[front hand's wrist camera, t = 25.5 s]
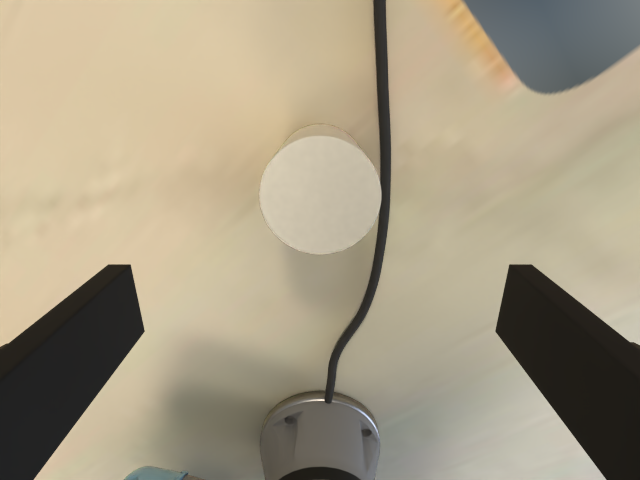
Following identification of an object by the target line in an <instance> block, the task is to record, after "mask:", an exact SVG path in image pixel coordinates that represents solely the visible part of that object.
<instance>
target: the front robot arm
mask: <svg viewBox="0 0 640 480" xmlns="http://www.w3.org/2000/svg"><path fill="white" fill-rule="evenodd" d="M374 21H375V43H376V64H377V89H378V108H379V125H380V149H381V183H380V184H381V205H380V213H379V225H378V234H377V241H376V248H375V255H374V261H373V267H372V272H371V277H370V281H369V285H368V288H367V291H366V294H365V297H364V300H363V302H362V305H361V307H360V309H359V311H358V313H357V315H356V316H355V318H354V320H353V321H352V323H351V324H350V325H349V327H348V328H347V329H346V331H345V332H344V334H343V335H342V336H341V338H340V340H339V341H338V343H337V345H336V346H335V349H334V351H333V353H332V355H331V358H330V362H329V367H328V378H327V385H326V392H324V391H315V392H307V393H302V394H298V395H295V396H292V397H290V398H288V399H286V400H284V401H282V402H281V403H279V404H278V405H277V406H276V407H274V408H273V409H272V410H271V412H270V413H269V414H268V416H267V417H266V419H265V421H264V424H263V427H262V433H261V439H260V452H261V458H262V464H263V470H264V475H265V480H375V475H376V469H377V464H378V458H379V452H380V439H379V433H378V428H377V424H376V421H375V419H374V417H373V416H372V414H371V413H370V412H369V411H368V409H367V408H365V407H364V406H363V405H362V404H361V403H359V402H358V401H356V400H354V399H352V398H350V397H348V396H345V395H342V394H338V393H333V392H334V385H335V378H336V367H337V362H338V359H339V357H340V354H341V352H342V350H343V349H344V347H345V345H346V344H347V342H348V341H349V339H350V338H351V337H352V335H353V334H354V333H355V331H356V330H357V329H358V327H359V326H360V324H361V323H362V321H363V319H364V318H365V316H366V314H367V312H368V310H369V307H370V305H371V303H372V300H373V297H374V294H375V291H376V288H377V285H378V281H379V277H380V273H381V268H382V262H383V256H384V250H385V244H386V237H387V229H388V220H389V208H390V180H391V136H390V113H389V91H388V59H387V32H386V0H374ZM143 333H144V326H143V322H142V317H141V312H140V307H139V303H138V298H137V293H136V288H135V283H134V279H133V274H132V269H131V265H107V266H106V267H105V268H104V269H102V270H101V271H100V272H98V273H97V274H96V275H95V276H93V277H92V278H91V279H90V280H88V281H87V282H86V283H85V284H83V285H82V286H81V287H79V288H78V289H77V290H76V291H74V292H73V293H72V294H71V295H69V296H68V297H67V298H66V299H64V300H63V301H62V302H60V303H59V304H58V305H57V306H55V307H54V308H53V309H52V310H50V311H49V312H48V313H47V314H45V315H44V316H43V317H42V318H40V319H39V320H38V321H36V322H35V323H34V324H33V325H31V326H30V327H29V328H28V329H26V330H25V331H24V332H23V333H21V334H20V335H19V336H17V337H16V338H15V339H14V340H12V341H11V342H10V343H9V344H5V345H3V346H1V347H0V480H34V478H35V477H36V476H37V474H38V473H39V472H40V470H41V469H42V468H43V466H44V465H45V464H46V462H47V461H48V460H49V458H50V457H51V456H52V454H53V453H54V452H55V450H56V449H57V448H58V446H59V445H60V444H61V442H62V441H63V440H64V438H65V437H66V436H67V434H68V433H69V432H70V430H71V429H72V428H73V426H74V425H75V424H76V422H77V421H78V420H79V418H80V417H81V416H82V414H83V413H84V412H85V410H86V409H87V408H88V406H89V405H90V404H91V402H92V401H93V400H94V398H95V397H96V396H97V394H98V393H99V392H100V390H101V389H102V388H103V386H104V385H105V384H106V382H107V381H108V380H109V378H110V377H111V376H112V374H113V373H114V372H115V370H116V369H117V368H118V366H119V365H120V363H121V362H122V361H123V359H124V358H125V357H126V355H127V354H128V353H129V351H130V350H131V349H132V347H133V346H134V345H135V343H136V342H137V341H138V339H139V338H140V337H141V335H142V334H143ZM496 333H497V334H498V335H499V337H500V338H501V339H502V341H503V342H504V343H505V345H506V346H507V347H508V349H509V350H510V351H511V353H512V354H513V355H514V357H515V358H516V360H517V361H518V362H519V364H520V365H521V366H522V368H523V369H524V370H525V372H526V373H527V374H528V376H529V377H530V378H531V380H532V381H533V382H534V384H535V385H536V386H537V388H538V389H539V390H540V392H541V393H542V394H543V396H544V397H545V398H546V400H547V401H548V402H549V404H550V405H551V406H552V408H553V409H554V410H555V412H556V413H557V414H558V416H559V417H560V418H561V420H562V421H563V422H564V424H565V425H566V426H567V428H568V429H569V430H570V432H571V433H572V434H573V436H574V437H575V438H576V440H577V441H578V442H579V444H580V445H581V446H582V448H583V449H584V450H585V452H586V453H587V454H588V456H589V457H590V458H591V460H592V461H593V462H594V464H595V465H596V466H597V468H598V469H599V470H600V472H601V473H602V474H603V476H604V477H605V478H606V480H640V345H638V344H636V343H634V342H629V341H628V340H626V339H625V338H624V337H623V336H621V335H620V334H619V333H617V332H616V331H615V330H614V329H612V328H611V327H610V326H609V325H607V324H606V323H605V322H604V321H602V320H601V319H600V318H598V317H597V316H596V315H595V314H593V313H592V312H591V311H590V310H588V309H587V308H586V307H585V306H583V305H582V304H581V303H580V302H578V301H577V300H576V299H574V298H573V297H572V296H571V295H569V294H568V293H567V292H566V291H564V290H563V289H562V288H561V287H559V286H558V285H557V284H555V283H554V282H553V281H552V280H550V279H549V278H548V277H547V276H545V275H544V274H543V273H542V272H540V271H539V270H538V269H536V268H535V267H534V266H533V265H509V269H508V274H507V279H506V283H505V288H504V293H503V298H502V302H501V307H500V312H499V317H498V322H497V326H496ZM187 474H188V472H187V471H182V472H176V471H171V470H166V469H161V468H157V467H151V466H147V467H141V468H139V469H137V470H135V471H133V472H132V473H130V474H129V475H128V476H127V477H126V478H125V479H124V480H204V479H201V478H197V477H194V476H190V475H187Z"/></svg>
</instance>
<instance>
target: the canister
mask: <svg viewBox="0 0 640 480" xmlns="http://www.w3.org/2000/svg"><path fill="white" fill-rule="evenodd" d="M259 202H260V208H261V212H262V215H263V217H264V220H265V222H266V223H267V225H268V227H269V228H270V230H271V231H272V232H273V233H274V234H275V236H276V237H277V238H278V239H280V240H281V241H282V242H283V243H285V244H286V245H288V246H290V247H291V248H294V249H296V250H298V251H301V252H304V253H309V254H318V255H321V254H331V253H336V252H339V251H342V250H345V249H347V248H349V247H351V246H353V245H354V244H356V243H357V242H358V241H360V240H361V239H362V238H363V237H364V236H365V235H366V234H367V233H368V231H369V230H370V229H371V228H372V226H373V224H374V223H375V221H376V218H377V216H378V213H379V210H380V205H381V184H380V180H379V176H378V174H377V172H376V169H375V167H374V166H373V164H372V162H371V161H370V160H369V158H368V157H367V156H366V154H365V153H364V152H363V151H362V149H361V148H360V147H359V145H358V144H357V143H356V142H355V140H354V139H353V138H352V137H351V136H350V135H349V134H348V133H346V132H345V131H343V130H342V129H340V128H337V127H335V126H332V125H327V124H314V125H309V126H306V127H303V128H301V129H299V130H297V131H296V132H294V133H293V134H292V135H291V136H290V137H288V139H287V140H286V141H285V142H284V143H283V145H282V146H281V147H280V149H279V150H278V151H277V152H276V154H275V155H274V156H273V157H272V159H271V160H270V162H269V163H268V165H267V166H266V168H265V170H264V173H263V175H262V178H261V182H260V188H259Z"/></svg>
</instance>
